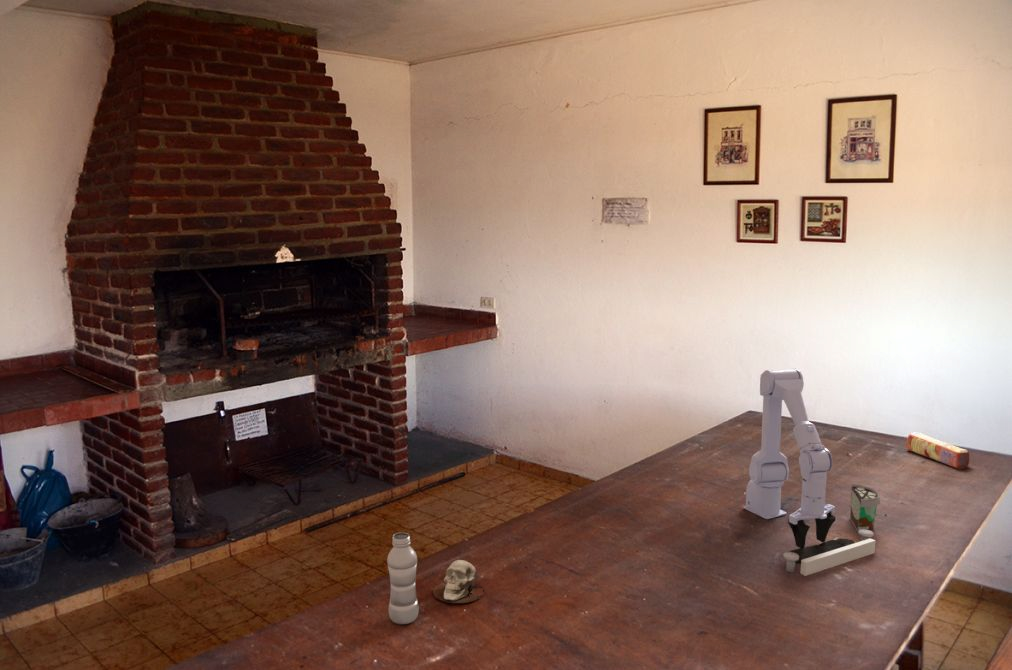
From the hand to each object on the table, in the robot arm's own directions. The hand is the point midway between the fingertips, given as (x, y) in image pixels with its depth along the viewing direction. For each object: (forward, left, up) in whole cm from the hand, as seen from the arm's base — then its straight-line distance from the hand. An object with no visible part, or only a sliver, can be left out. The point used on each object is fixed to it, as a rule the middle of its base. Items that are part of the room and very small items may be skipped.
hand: (810, 543), depth 206 cm
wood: (+4, +1, -2) cm, 5 cm away
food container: (-3, +25, -2) cm, 25 cm away
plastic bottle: (-19, -105, -2) cm, 107 cm away
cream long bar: (+7, 0, -1) cm, 7 cm away
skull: (-24, -90, -2) cm, 93 cm away
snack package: (-28, +92, -2) cm, 96 cm away
